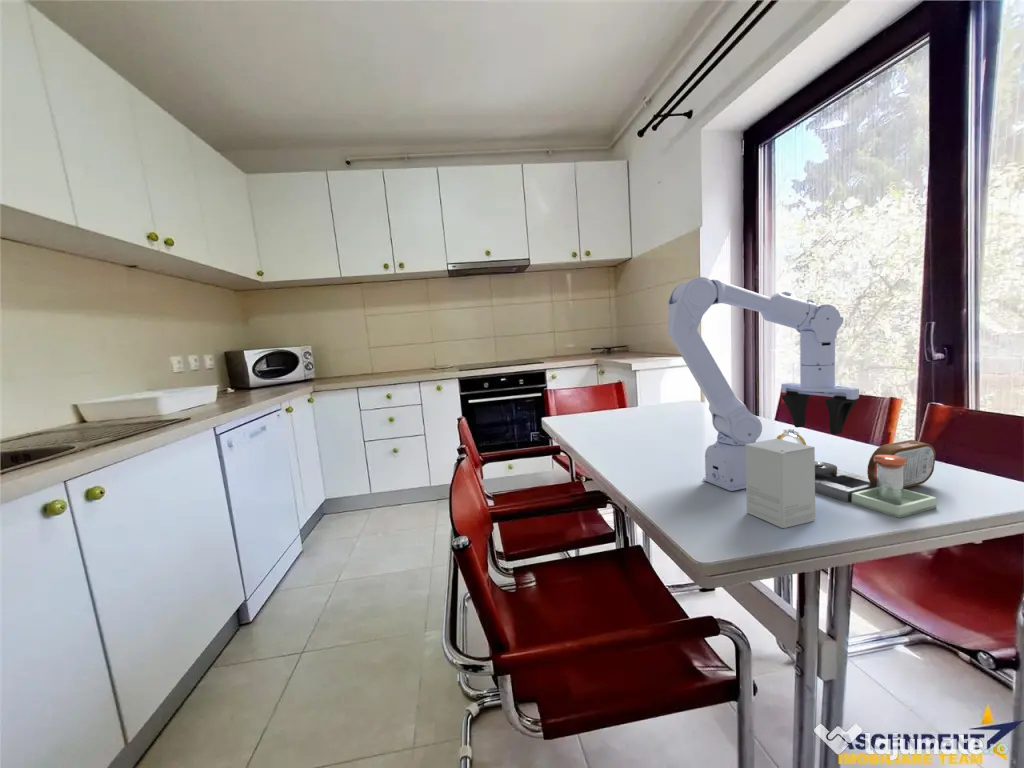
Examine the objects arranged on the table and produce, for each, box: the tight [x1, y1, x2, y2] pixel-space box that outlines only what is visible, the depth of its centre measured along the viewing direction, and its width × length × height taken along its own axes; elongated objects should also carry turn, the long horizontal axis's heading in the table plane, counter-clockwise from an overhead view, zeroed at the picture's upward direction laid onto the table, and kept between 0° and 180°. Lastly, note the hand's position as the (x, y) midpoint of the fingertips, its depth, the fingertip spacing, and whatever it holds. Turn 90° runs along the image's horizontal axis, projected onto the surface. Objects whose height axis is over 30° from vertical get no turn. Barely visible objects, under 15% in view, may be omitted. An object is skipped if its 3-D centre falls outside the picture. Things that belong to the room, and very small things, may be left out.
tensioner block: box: [815, 460, 877, 503], centre depth 82 cm, size 10×12×4 cm
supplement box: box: [745, 438, 816, 529], centre depth 71 cm, size 7×7×13 cm
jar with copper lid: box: [874, 455, 906, 505], centre depth 72 cm, size 4×4×8 cm
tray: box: [851, 487, 938, 519], centre depth 72 cm, size 9×7×2 cm
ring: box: [775, 428, 807, 445], centre depth 98 cm, size 7×3×8 cm, turn 10°
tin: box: [866, 439, 937, 489], centre depth 78 cm, size 15×3×8 cm, turn 107°
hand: (817, 429), depth 86 cm, fingers open, 7 cm apart
